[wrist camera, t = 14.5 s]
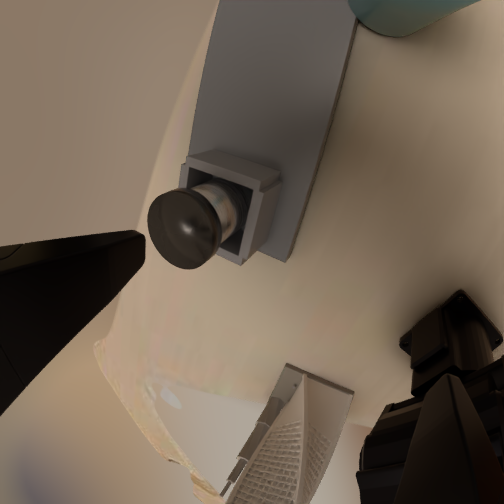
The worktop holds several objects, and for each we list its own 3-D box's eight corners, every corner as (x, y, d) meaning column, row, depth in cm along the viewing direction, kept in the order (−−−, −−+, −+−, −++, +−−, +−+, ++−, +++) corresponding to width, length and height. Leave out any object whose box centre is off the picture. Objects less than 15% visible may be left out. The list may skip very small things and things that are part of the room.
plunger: (273, 195, 19) (225, 228, 14) (243, 241, 21) (193, 283, 16) (222, 157, 19) (161, 176, 14) (198, 205, 22) (140, 236, 17)
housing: (270, -125, 8) (248, -148, 4) (385, -118, 5) (377, -147, 2) (187, 212, 24) (155, 229, 21) (289, 256, 22) (268, 284, 19)
